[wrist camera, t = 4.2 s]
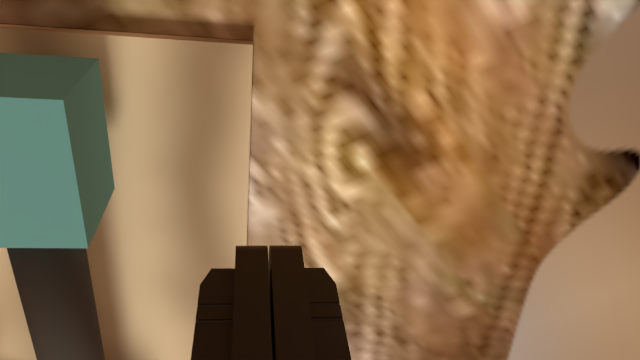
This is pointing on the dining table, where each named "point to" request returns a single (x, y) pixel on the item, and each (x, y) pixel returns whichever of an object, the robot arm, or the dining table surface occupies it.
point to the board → (154, 183)
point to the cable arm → (54, 195)
